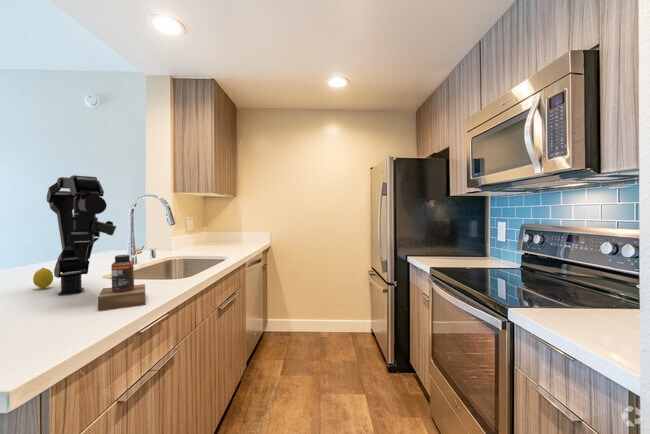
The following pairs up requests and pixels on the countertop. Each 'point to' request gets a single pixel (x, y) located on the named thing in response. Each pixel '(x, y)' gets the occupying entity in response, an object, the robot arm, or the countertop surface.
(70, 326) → the countertop surface
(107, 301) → the walnut block
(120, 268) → the supplement bottle
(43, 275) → the lemon
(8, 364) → the countertop surface
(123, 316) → the countertop surface
